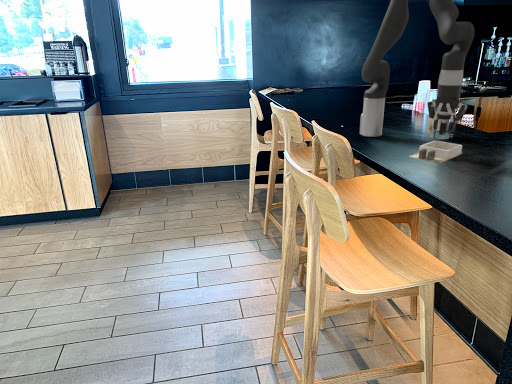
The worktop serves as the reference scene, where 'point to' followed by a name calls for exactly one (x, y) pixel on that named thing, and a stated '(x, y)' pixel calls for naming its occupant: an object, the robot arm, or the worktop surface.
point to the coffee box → (431, 123)
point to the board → (430, 156)
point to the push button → (442, 126)
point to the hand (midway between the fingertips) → (443, 130)
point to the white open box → (442, 149)
